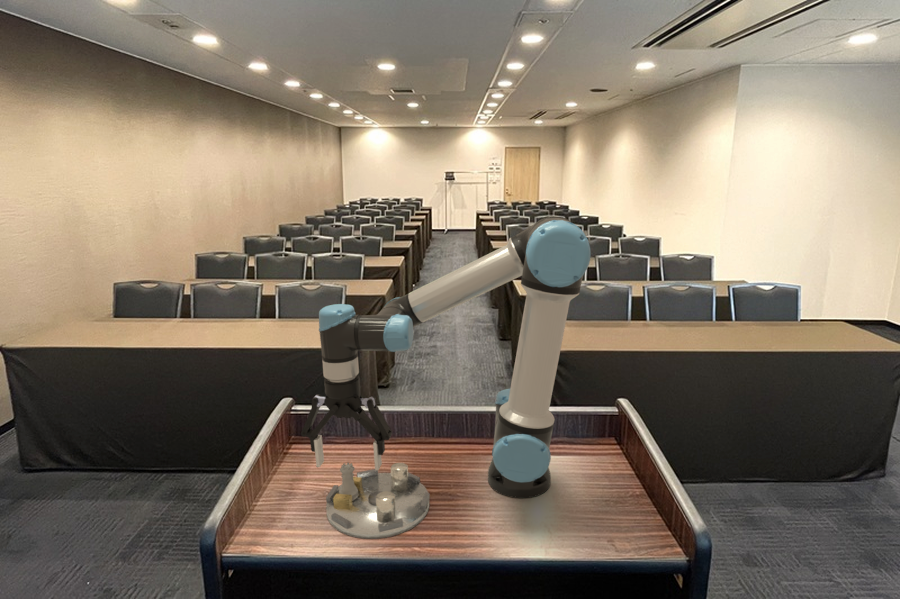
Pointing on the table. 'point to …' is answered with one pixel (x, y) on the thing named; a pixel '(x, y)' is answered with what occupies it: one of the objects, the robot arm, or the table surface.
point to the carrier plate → (369, 512)
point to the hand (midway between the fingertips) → (349, 465)
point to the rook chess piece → (348, 481)
